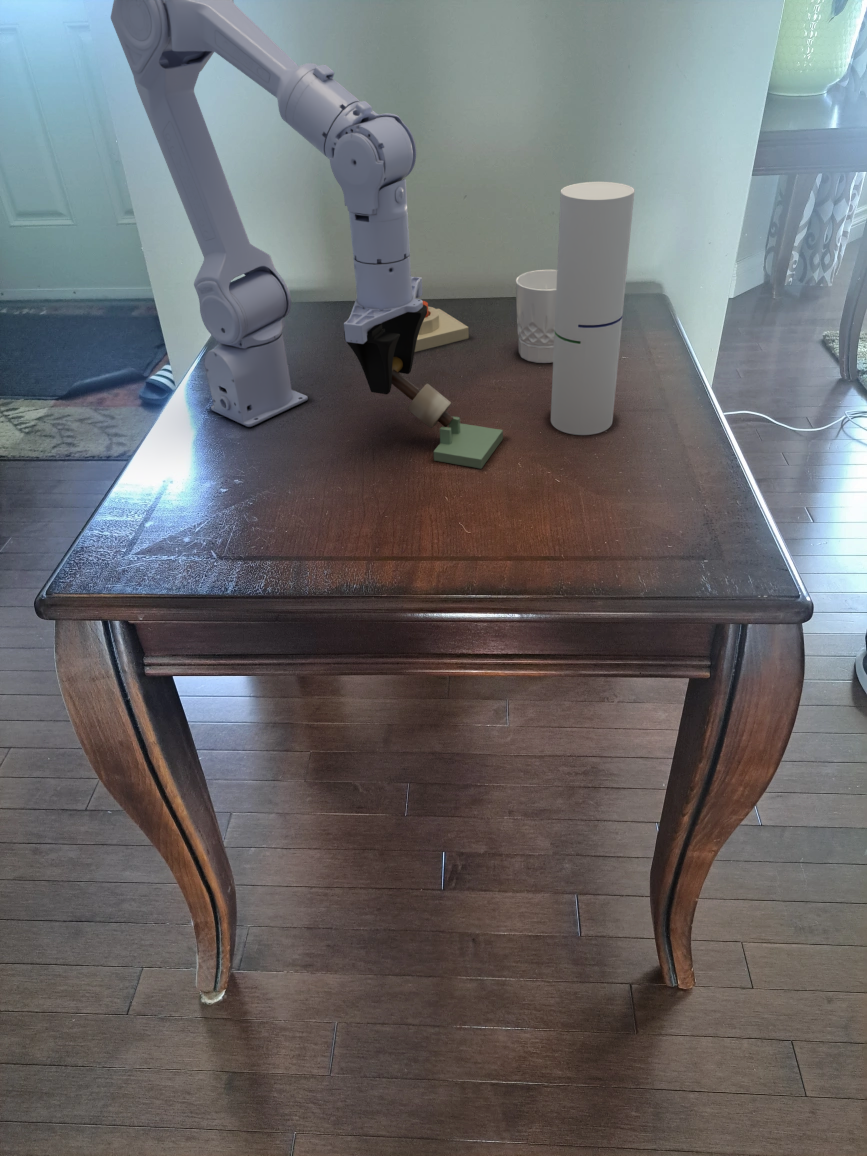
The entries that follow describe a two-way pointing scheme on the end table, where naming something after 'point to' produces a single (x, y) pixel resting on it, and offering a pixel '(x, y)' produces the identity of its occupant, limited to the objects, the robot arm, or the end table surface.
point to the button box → (440, 330)
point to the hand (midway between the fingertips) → (391, 381)
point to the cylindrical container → (589, 304)
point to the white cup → (536, 314)
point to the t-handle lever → (422, 399)
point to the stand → (467, 444)
